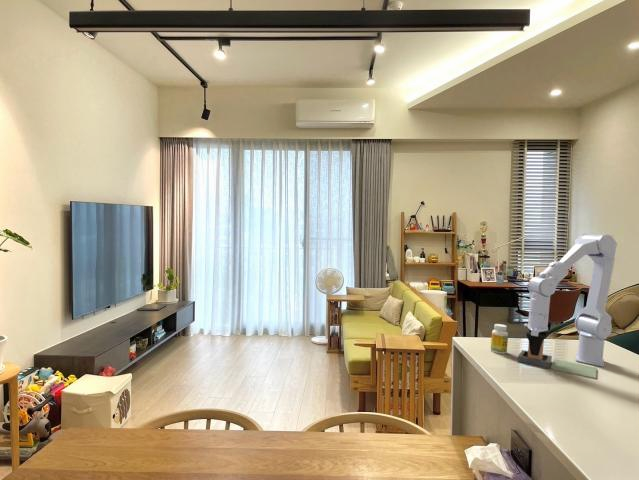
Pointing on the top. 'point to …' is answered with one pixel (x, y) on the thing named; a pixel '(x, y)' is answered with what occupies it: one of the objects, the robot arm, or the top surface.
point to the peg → (538, 354)
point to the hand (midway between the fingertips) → (535, 353)
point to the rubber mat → (574, 368)
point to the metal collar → (535, 360)
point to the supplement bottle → (499, 339)
